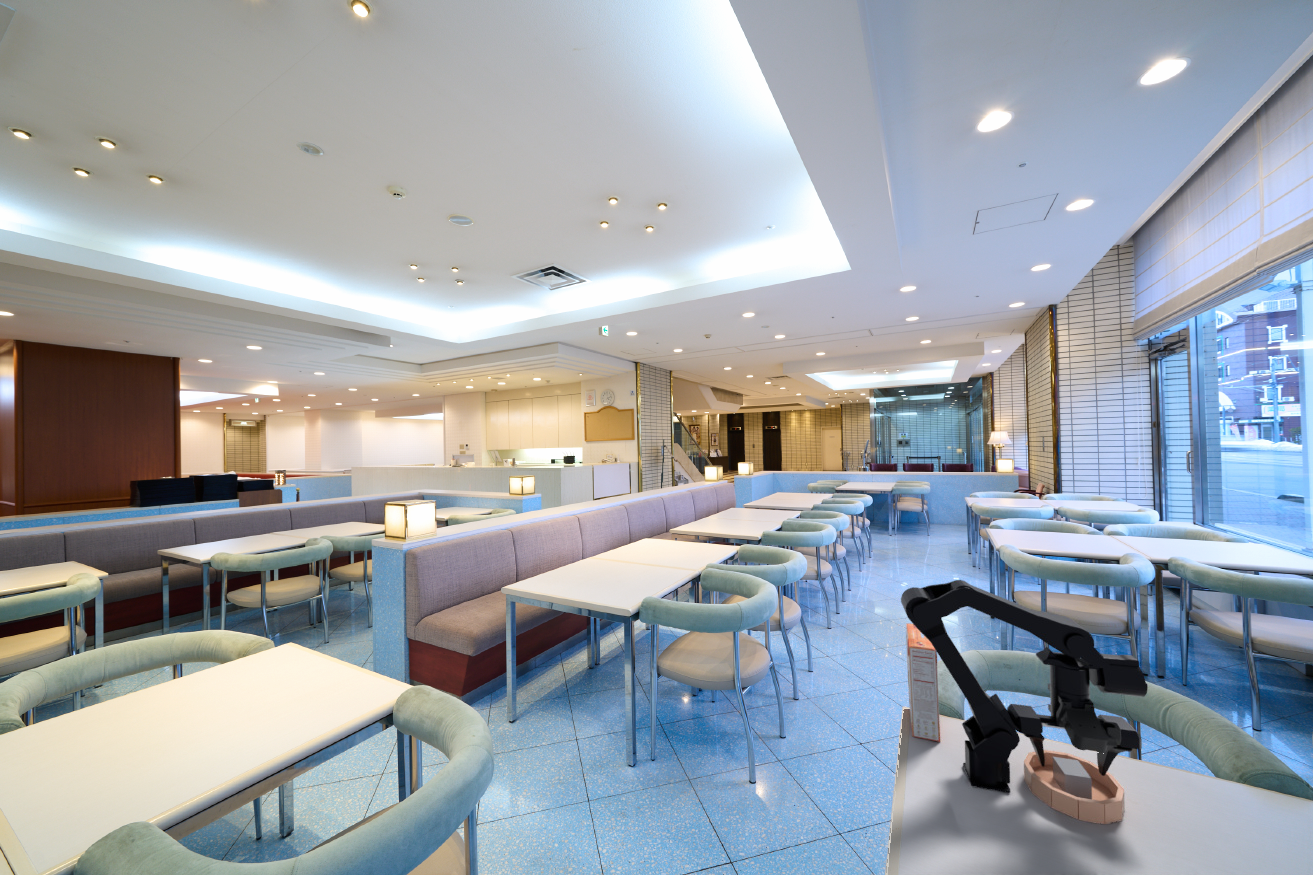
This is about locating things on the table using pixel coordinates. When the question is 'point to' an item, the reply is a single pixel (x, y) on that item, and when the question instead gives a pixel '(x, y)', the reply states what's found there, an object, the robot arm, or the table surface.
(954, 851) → the table surface
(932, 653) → the cracker box
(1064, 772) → the grey rectangular prism
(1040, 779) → the bowl
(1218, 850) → the table surface
